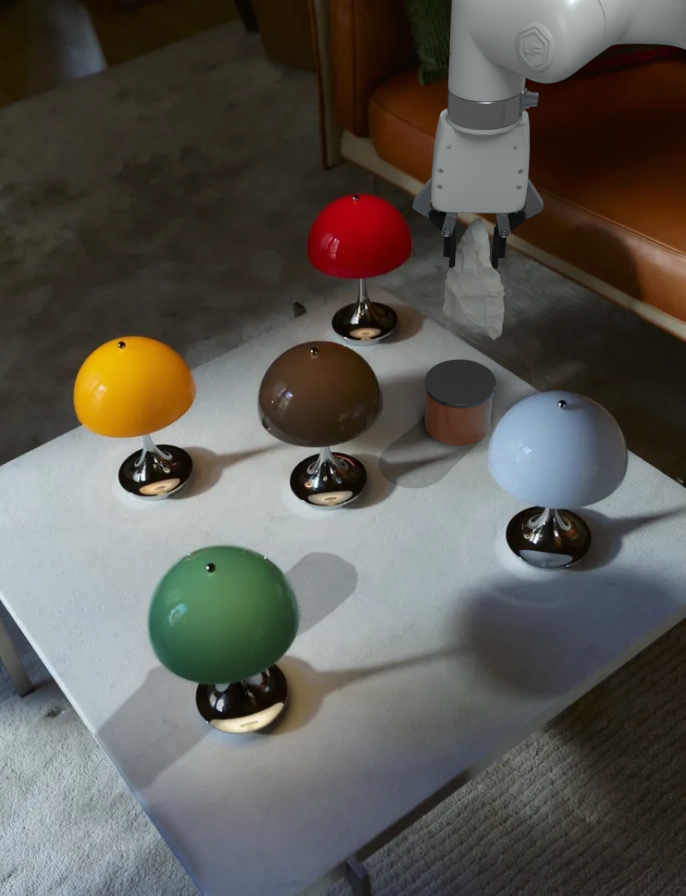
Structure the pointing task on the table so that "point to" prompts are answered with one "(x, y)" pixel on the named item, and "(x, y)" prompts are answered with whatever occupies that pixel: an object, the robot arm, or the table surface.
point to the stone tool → (475, 285)
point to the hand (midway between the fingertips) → (473, 260)
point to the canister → (459, 401)
